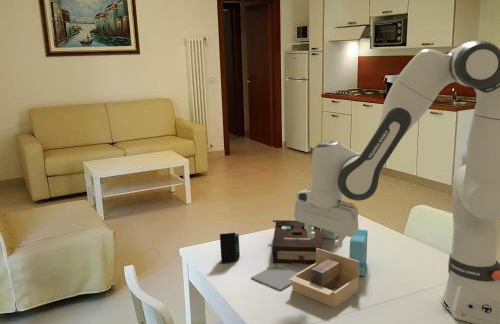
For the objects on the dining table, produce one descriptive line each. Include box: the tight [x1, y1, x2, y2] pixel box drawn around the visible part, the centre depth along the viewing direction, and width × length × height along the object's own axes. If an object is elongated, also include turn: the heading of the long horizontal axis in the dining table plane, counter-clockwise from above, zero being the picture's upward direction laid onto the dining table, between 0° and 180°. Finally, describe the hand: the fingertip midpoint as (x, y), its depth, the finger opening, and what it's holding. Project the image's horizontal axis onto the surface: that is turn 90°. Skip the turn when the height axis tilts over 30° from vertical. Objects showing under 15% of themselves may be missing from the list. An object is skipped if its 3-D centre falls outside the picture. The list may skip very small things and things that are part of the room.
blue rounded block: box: [348, 228, 368, 277], centre depth 151 cm, size 12×4×12 cm, turn 162°
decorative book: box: [271, 219, 324, 265], centre depth 168 cm, size 19×8×30 cm
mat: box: [250, 264, 298, 292], centre depth 147 cm, size 12×12×1 cm
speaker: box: [219, 232, 241, 265], centre depth 161 cm, size 8×6×10 cm
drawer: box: [289, 248, 360, 308], centre depth 137 cm, size 15×15×10 cm
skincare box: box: [320, 228, 338, 240], centre depth 179 cm, size 8×6×15 cm
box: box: [310, 259, 340, 291], centre depth 138 cm, size 4×9×8 cm, turn 137°
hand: (324, 242), depth 135 cm, fingers open, 8 cm apart
